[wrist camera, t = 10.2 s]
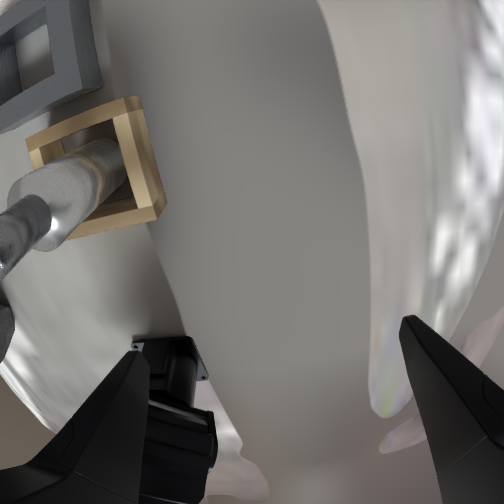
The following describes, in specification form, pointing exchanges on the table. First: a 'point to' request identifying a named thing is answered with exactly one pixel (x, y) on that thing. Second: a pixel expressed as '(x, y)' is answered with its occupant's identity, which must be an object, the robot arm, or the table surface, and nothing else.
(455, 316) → the table surface
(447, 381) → the robot arm
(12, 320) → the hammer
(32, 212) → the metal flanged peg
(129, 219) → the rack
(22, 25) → the socket
